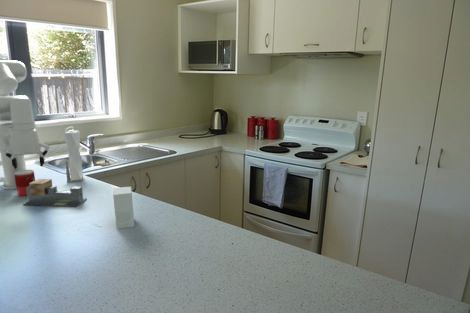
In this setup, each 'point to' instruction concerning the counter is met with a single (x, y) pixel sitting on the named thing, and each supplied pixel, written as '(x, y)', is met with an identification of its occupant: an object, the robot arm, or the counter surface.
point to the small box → (123, 207)
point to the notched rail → (56, 197)
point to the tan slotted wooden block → (39, 186)
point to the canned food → (23, 181)
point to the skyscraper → (73, 156)
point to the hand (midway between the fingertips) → (29, 166)
